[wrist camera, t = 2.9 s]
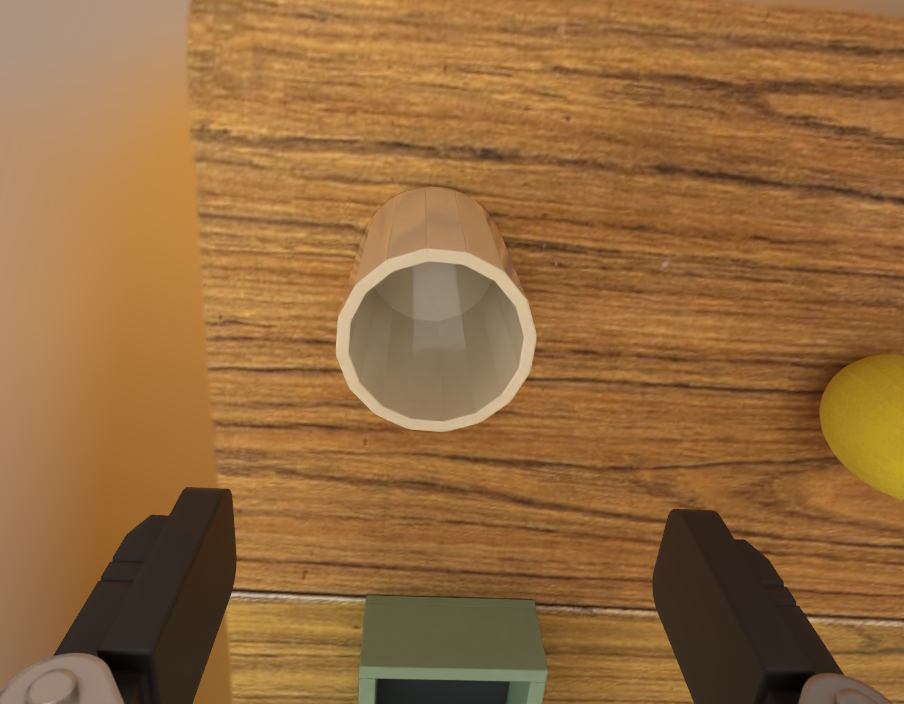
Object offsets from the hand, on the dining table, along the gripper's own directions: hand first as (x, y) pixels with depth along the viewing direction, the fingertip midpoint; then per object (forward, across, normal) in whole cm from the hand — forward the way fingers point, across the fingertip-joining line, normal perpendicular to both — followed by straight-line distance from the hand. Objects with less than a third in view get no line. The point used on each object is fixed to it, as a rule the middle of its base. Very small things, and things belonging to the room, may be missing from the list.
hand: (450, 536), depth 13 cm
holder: (+18, -2, +28) cm, 33 cm away
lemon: (+18, -20, +5) cm, 27 cm away
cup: (+18, 0, 0) cm, 18 cm away
